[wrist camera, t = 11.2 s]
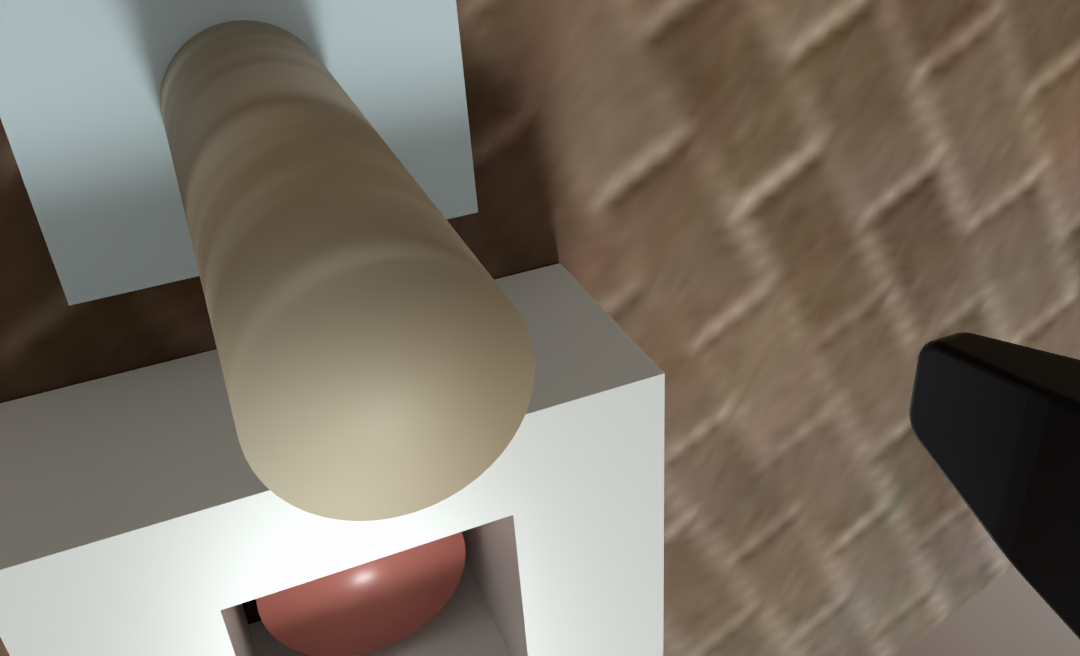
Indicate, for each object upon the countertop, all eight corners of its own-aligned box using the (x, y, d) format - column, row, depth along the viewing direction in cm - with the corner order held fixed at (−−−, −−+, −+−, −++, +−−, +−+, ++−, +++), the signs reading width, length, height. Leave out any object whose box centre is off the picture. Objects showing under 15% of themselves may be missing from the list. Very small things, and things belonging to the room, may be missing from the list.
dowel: (185, 199, 18) (272, 557, 10) (139, 35, 16) (200, 303, 8) (345, 166, 19) (543, 471, 11) (317, 7, 17) (524, 227, 9)
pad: (69, 291, 19) (69, 305, 18) (-52, -41, 15) (-56, -33, 15) (468, 201, 21) (478, 212, 20) (435, -103, 18) (445, -98, 17)
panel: (135, 731, 24) (147, 923, 20) (-8, 405, 19) (-30, 578, 15) (578, 574, 28) (662, 713, 24) (560, 263, 23) (664, 373, 19)
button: (266, 621, 24) (280, 684, 22) (221, 473, 21) (234, 532, 20) (449, 560, 25) (474, 615, 23) (427, 414, 22) (453, 465, 21)
